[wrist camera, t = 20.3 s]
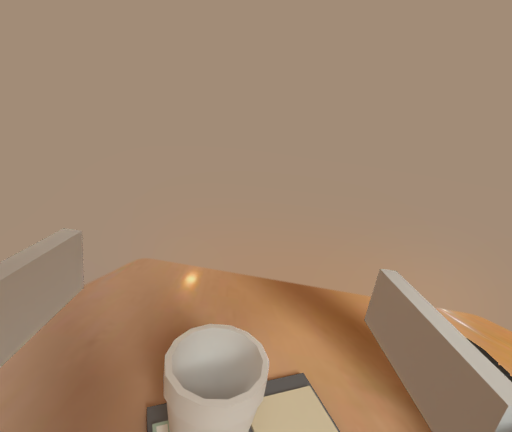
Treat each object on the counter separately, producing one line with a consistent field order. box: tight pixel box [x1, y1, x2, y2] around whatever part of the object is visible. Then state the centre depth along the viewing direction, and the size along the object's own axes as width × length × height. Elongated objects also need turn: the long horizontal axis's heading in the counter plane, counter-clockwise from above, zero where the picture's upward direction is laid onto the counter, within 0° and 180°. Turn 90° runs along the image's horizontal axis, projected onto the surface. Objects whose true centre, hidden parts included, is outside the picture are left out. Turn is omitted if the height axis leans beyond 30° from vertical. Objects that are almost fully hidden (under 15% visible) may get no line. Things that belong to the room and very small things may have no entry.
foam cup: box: [163, 324, 269, 432], centre depth 28 cm, size 10×9×13 cm
